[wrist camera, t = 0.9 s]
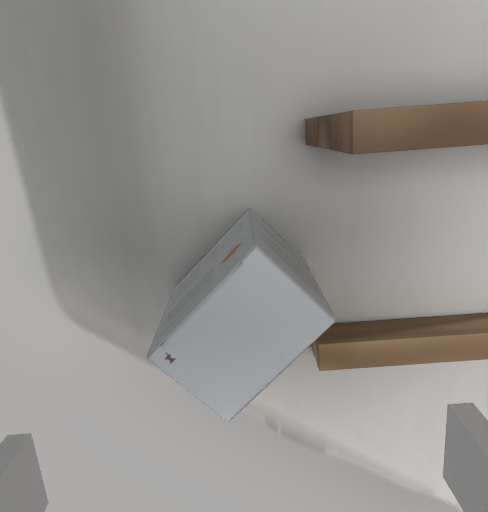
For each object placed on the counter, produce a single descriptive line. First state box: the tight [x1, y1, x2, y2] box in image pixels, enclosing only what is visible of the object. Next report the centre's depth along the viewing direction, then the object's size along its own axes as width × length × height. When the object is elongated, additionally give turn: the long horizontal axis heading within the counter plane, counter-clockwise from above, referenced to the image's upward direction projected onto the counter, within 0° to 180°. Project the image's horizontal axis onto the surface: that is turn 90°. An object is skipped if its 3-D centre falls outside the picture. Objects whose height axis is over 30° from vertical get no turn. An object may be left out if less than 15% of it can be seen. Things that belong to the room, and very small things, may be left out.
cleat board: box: [305, 101, 488, 371], centre depth 24 cm, size 17×16×12 cm
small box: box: [146, 209, 336, 421], centre depth 26 cm, size 8×6×10 cm
